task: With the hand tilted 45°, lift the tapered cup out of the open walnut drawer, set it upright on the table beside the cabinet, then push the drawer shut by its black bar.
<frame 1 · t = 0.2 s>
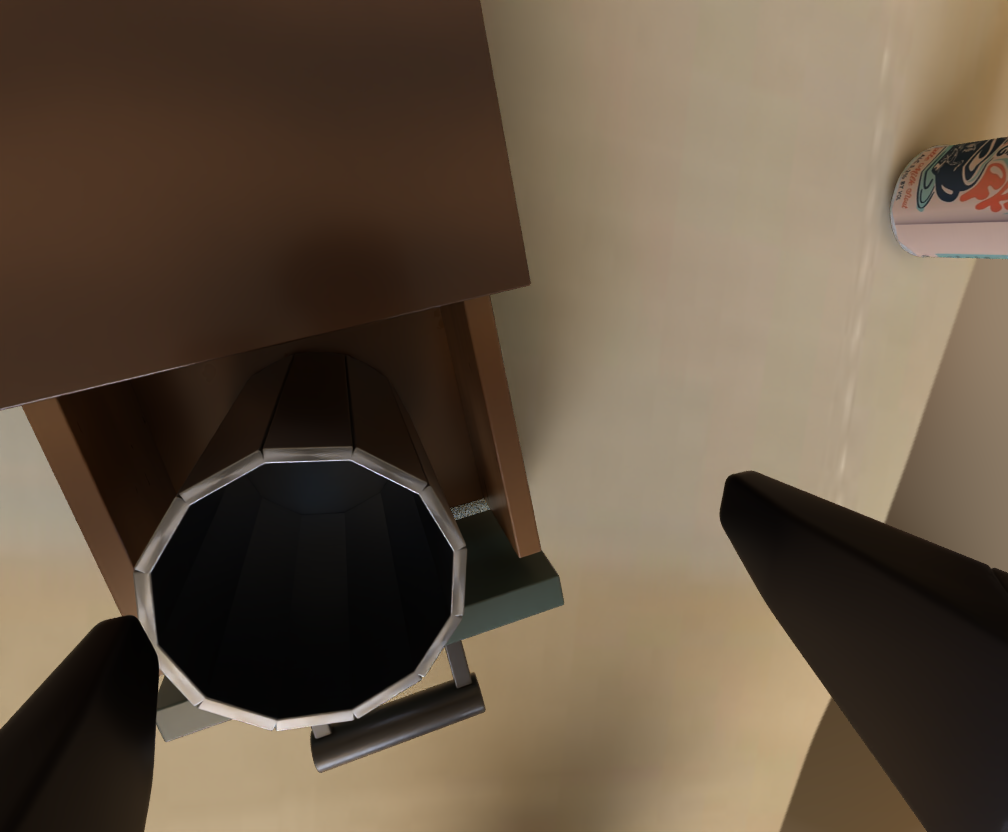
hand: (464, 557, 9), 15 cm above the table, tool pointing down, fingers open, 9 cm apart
drawer: (341, 519, 21), point 4 cm above the table, slide at 9.5 cm, touching tapered cup
tapered cup: (322, 437, 22), point 2 cm above the table, touching drawer
cabinet: (228, 120, 20), on the table
beer can: (920, 203, 28), on the table
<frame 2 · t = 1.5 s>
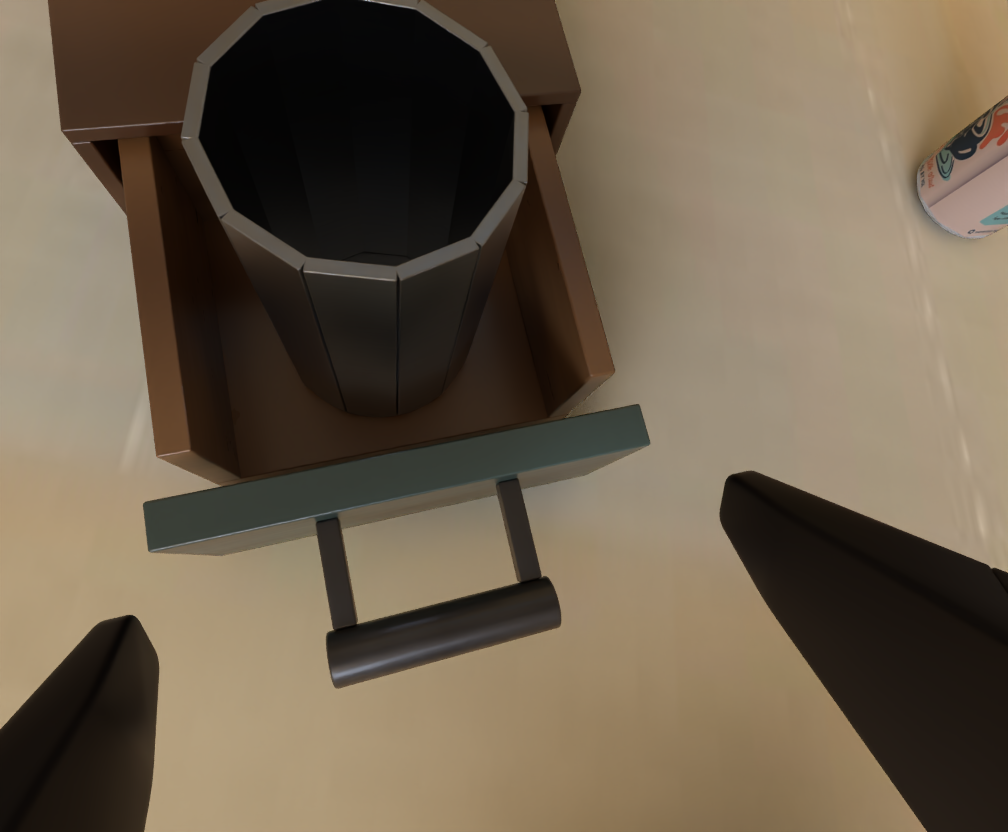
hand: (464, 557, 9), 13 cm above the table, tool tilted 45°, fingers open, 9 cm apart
drawer: (392, 379, 19), point 4 cm above the table, slide at 9.5 cm, touching tapered cup
tapered cup: (379, 331, 21), point 2 cm above the table, touching drawer
cabinet: (331, 103, 25), on the table
beer can: (947, 202, 30), on the table
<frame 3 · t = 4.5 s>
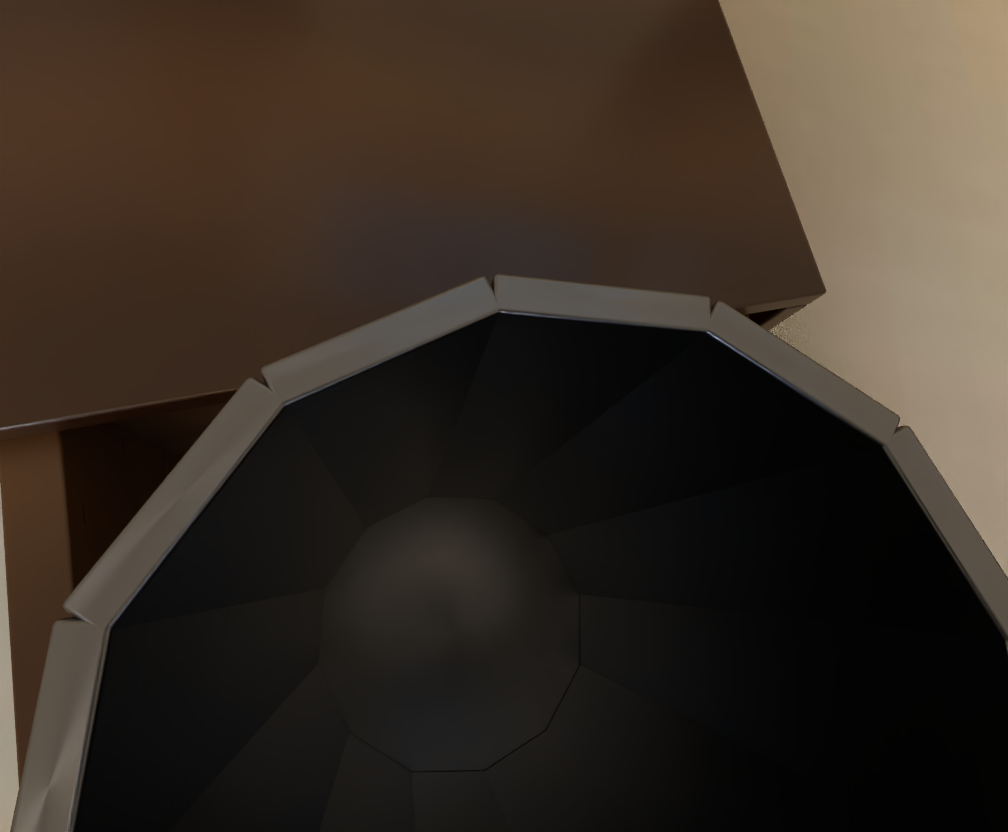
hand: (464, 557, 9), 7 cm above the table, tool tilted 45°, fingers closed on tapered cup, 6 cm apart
drawer: (491, 768, 11), point 4 cm above the table, slide at 9.5 cm, touching tapered cup
tapered cup: (453, 625, 14), point 2 cm above the table, touching drawer, gripper
cabinet: (368, 235, 17), on the table
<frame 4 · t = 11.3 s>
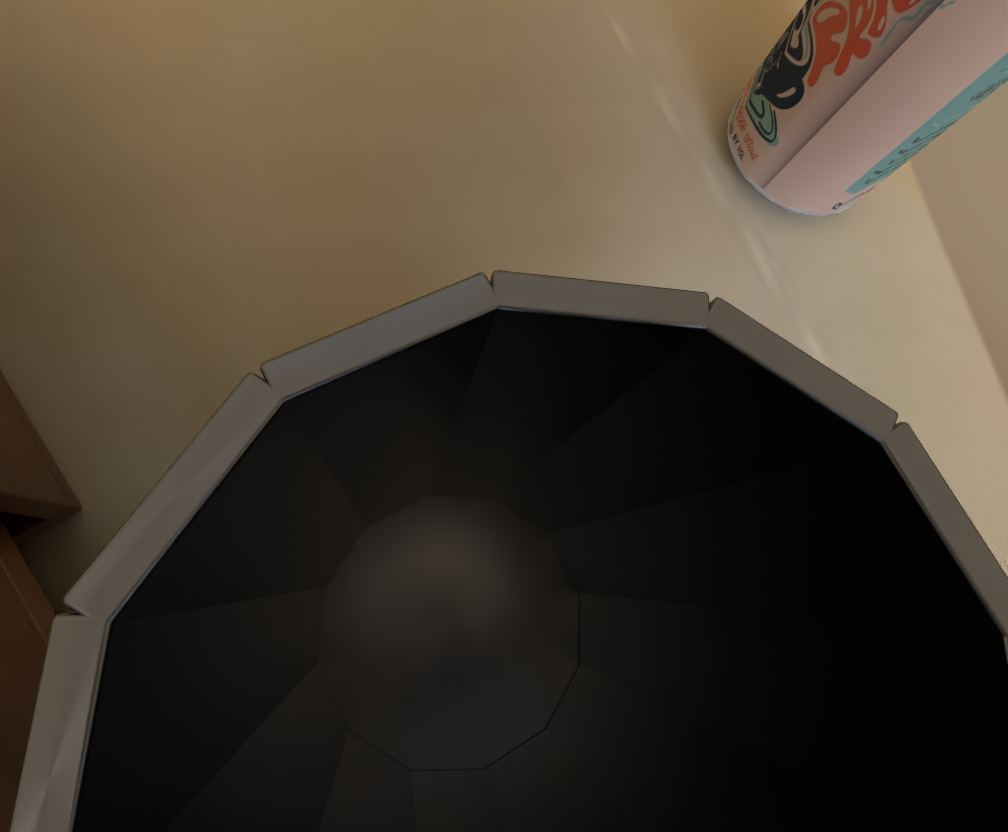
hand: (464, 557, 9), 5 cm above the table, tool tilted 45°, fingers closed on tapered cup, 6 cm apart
tapered cup: (453, 624, 14), on the table, touching gripper
beer can: (786, 160, 19), on the table
when the fingers open (7 cm above the table, at t = 23.6 s): tapered cup drops 2 cm, on the table.
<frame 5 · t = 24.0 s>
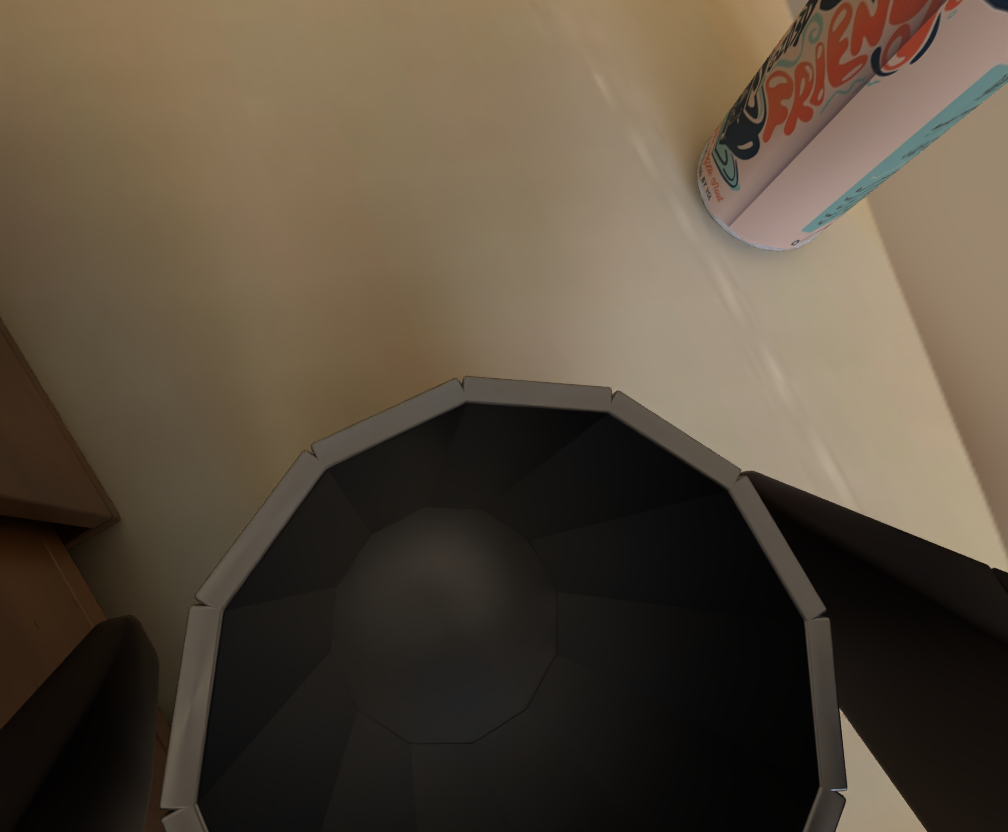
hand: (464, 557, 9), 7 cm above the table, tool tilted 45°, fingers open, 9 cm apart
tapered cup: (446, 619, 16), on the table
beer can: (752, 198, 21), on the table
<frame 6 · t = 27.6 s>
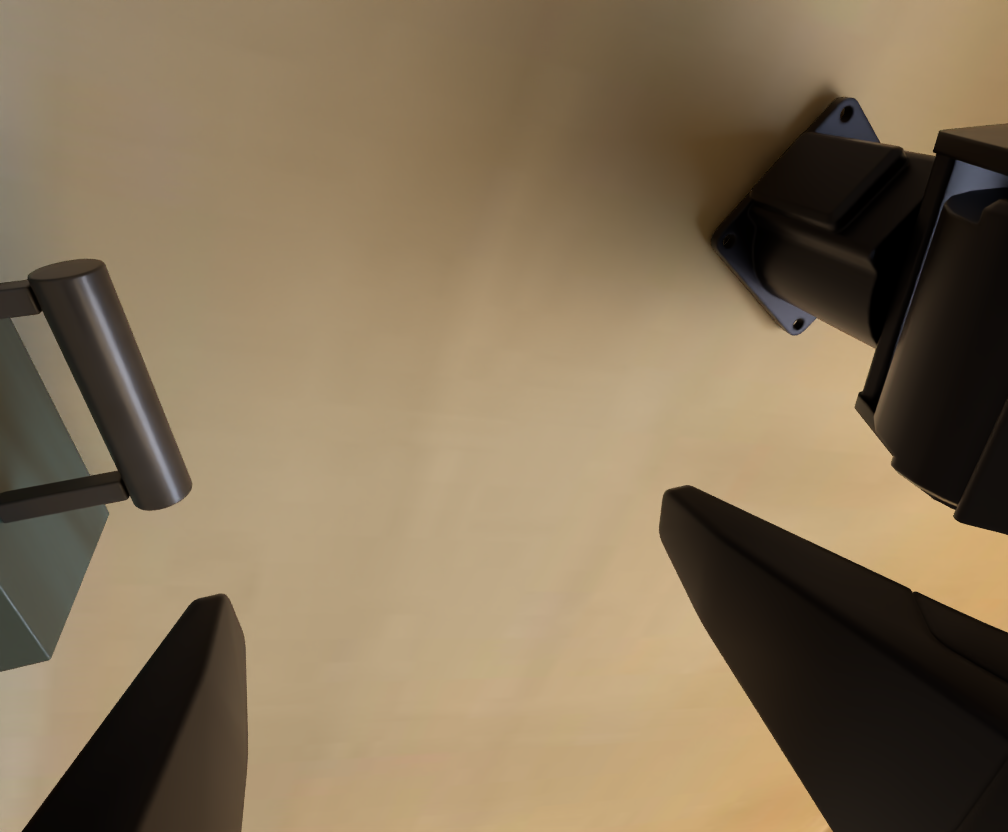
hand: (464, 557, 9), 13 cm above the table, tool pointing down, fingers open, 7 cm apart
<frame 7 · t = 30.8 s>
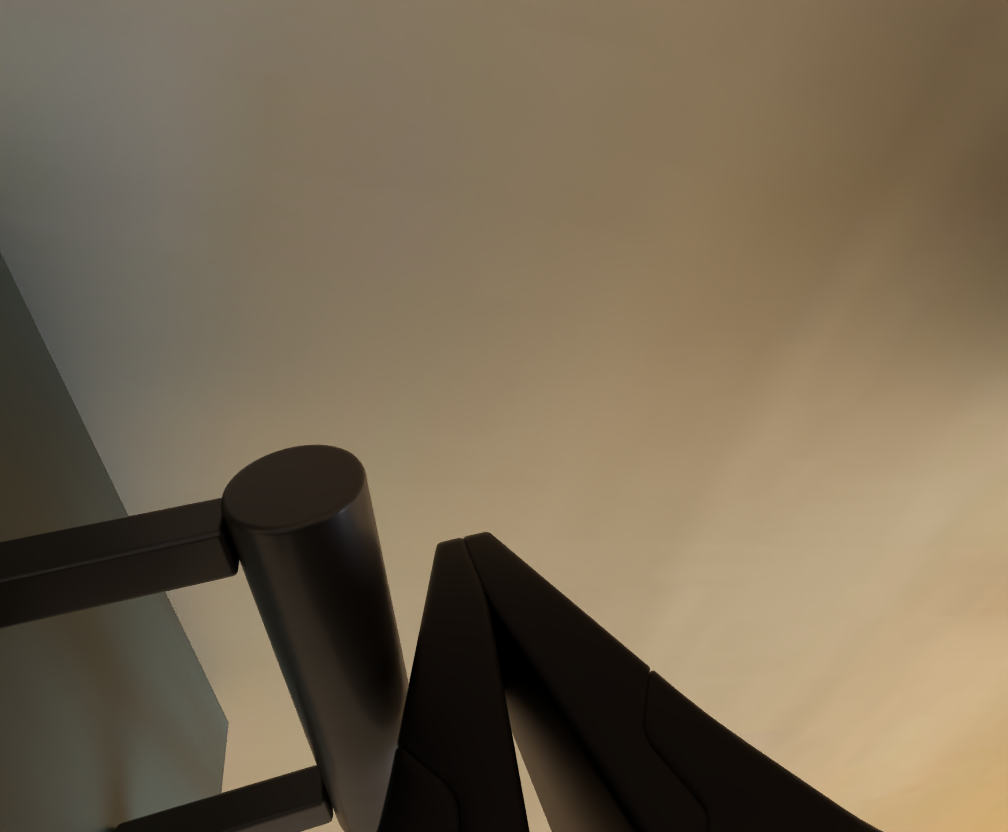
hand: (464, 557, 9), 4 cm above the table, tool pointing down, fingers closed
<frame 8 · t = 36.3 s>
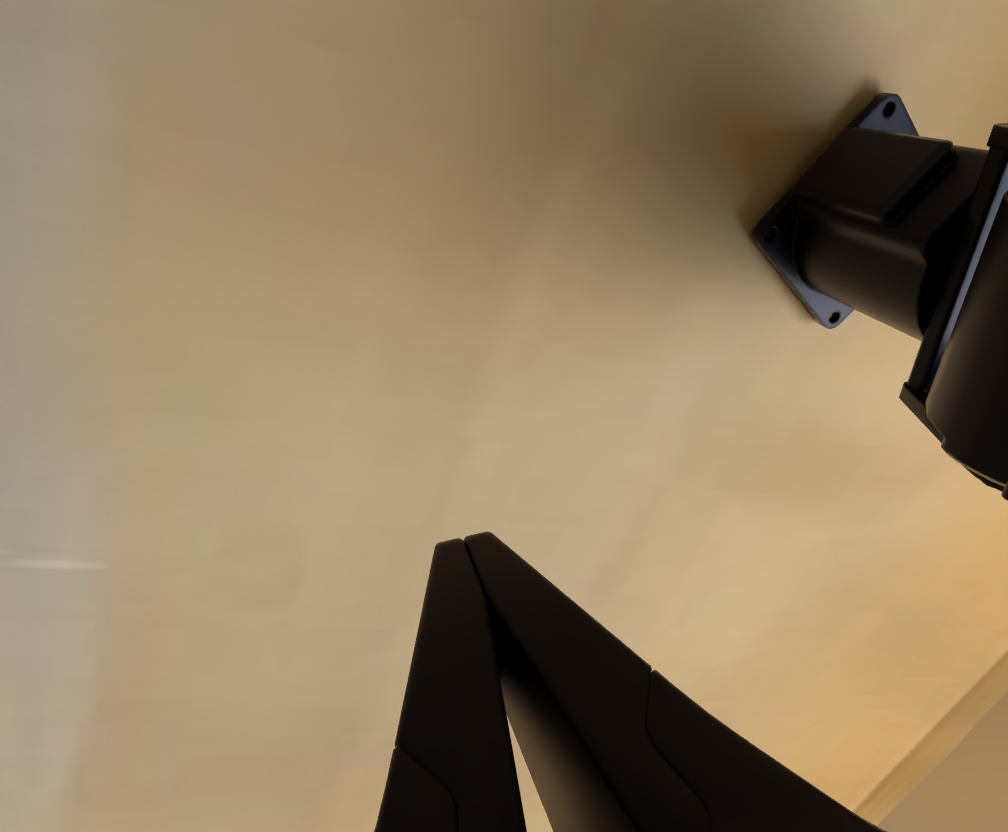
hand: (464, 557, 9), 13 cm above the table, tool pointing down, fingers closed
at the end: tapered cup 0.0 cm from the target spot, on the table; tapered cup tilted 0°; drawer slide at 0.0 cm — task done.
